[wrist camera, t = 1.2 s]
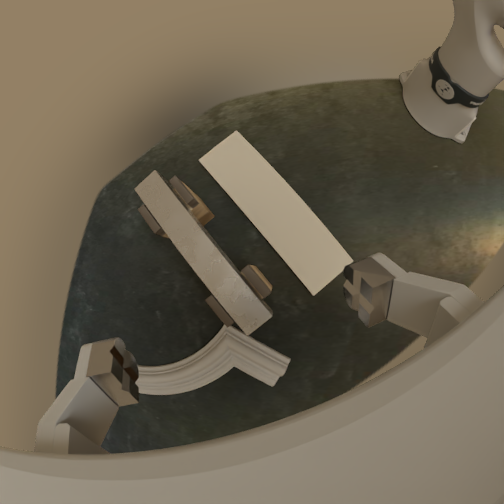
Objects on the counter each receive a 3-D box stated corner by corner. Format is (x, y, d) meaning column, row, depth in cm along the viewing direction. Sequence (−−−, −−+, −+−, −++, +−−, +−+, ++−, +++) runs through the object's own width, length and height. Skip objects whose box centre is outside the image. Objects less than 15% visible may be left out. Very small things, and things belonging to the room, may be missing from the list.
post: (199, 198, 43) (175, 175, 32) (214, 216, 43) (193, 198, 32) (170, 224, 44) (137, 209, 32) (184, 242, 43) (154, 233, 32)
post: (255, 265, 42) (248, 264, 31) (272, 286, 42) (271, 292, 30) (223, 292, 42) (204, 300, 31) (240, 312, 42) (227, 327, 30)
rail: (165, 178, 35) (155, 169, 31) (272, 311, 32) (272, 316, 29) (146, 195, 35) (134, 189, 31) (250, 329, 33) (247, 335, 29)
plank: (237, 133, 44) (236, 130, 43) (351, 261, 41) (353, 260, 40) (200, 162, 44) (198, 160, 43) (312, 295, 41) (313, 295, 40)
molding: (91, 402, 44) (84, 407, 41) (71, 349, 45) (63, 352, 42) (295, 378, 41) (297, 385, 38) (277, 308, 42) (277, 312, 39)
